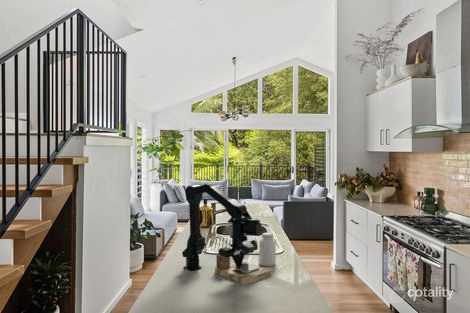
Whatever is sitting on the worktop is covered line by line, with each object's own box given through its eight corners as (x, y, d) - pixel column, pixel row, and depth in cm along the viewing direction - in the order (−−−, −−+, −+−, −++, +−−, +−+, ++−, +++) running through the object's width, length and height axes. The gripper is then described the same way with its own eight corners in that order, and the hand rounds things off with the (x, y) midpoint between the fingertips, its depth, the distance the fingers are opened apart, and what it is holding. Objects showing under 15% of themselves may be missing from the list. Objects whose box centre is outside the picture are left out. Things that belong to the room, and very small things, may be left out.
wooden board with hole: (214, 272, 167) (214, 267, 167) (240, 264, 178) (240, 260, 178) (244, 284, 152) (244, 278, 152) (270, 275, 163) (270, 270, 163)
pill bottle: (276, 262, 182) (276, 232, 182) (274, 267, 174) (274, 236, 174) (261, 260, 184) (261, 231, 184) (258, 265, 176) (258, 235, 176)
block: (216, 267, 167) (216, 254, 167) (223, 265, 170) (223, 252, 170) (222, 269, 164) (222, 256, 164) (230, 267, 167) (229, 254, 167)
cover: (234, 268, 164) (234, 261, 164) (247, 264, 170) (247, 257, 170) (246, 273, 159) (246, 265, 158) (259, 268, 164) (259, 261, 164)
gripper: (234, 240, 148) (234, 278, 148) (266, 233, 160) (266, 268, 161) (217, 235, 156) (217, 271, 157) (248, 228, 169) (249, 262, 169)
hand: (238, 268), depth 161 cm, fingers closed
